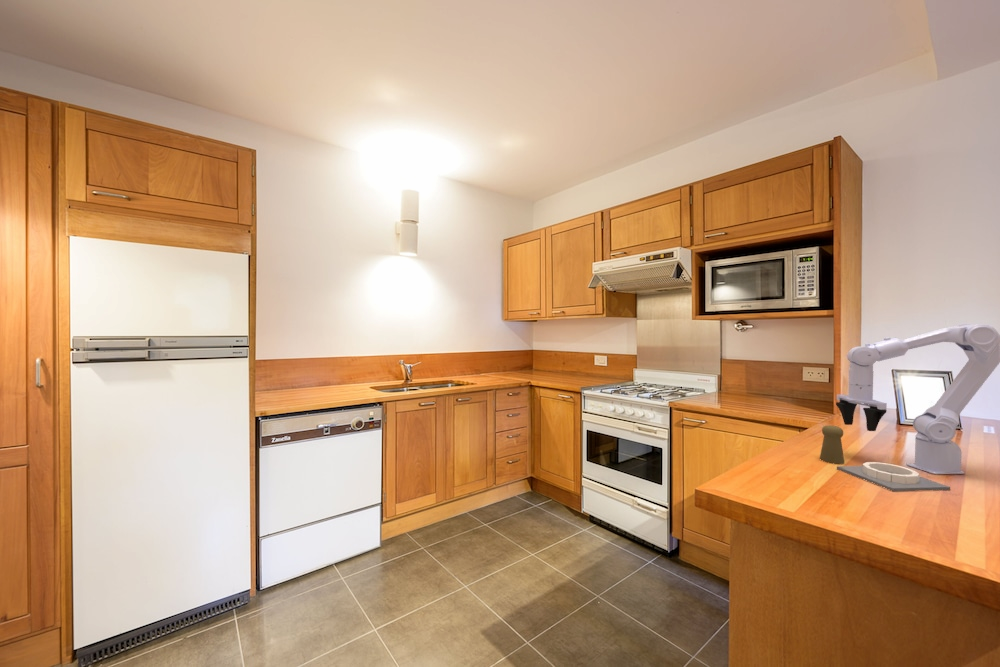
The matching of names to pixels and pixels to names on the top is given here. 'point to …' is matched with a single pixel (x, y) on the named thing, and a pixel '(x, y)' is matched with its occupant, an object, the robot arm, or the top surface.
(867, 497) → the top surface
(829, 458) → the cork
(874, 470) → the ring stand
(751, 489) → the top surface
